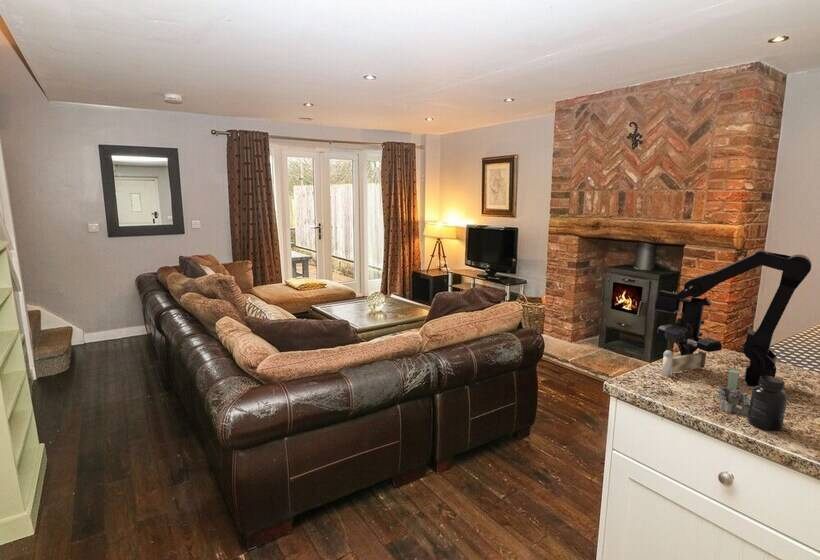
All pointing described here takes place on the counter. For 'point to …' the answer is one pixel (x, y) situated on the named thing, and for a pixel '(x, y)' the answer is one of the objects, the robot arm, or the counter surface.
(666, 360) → the hinge post
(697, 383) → the counter surface
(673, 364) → the gate
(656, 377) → the counter surface
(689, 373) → the counter surface
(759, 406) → the supplement bottle
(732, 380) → the latch post
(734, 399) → the egg carton
